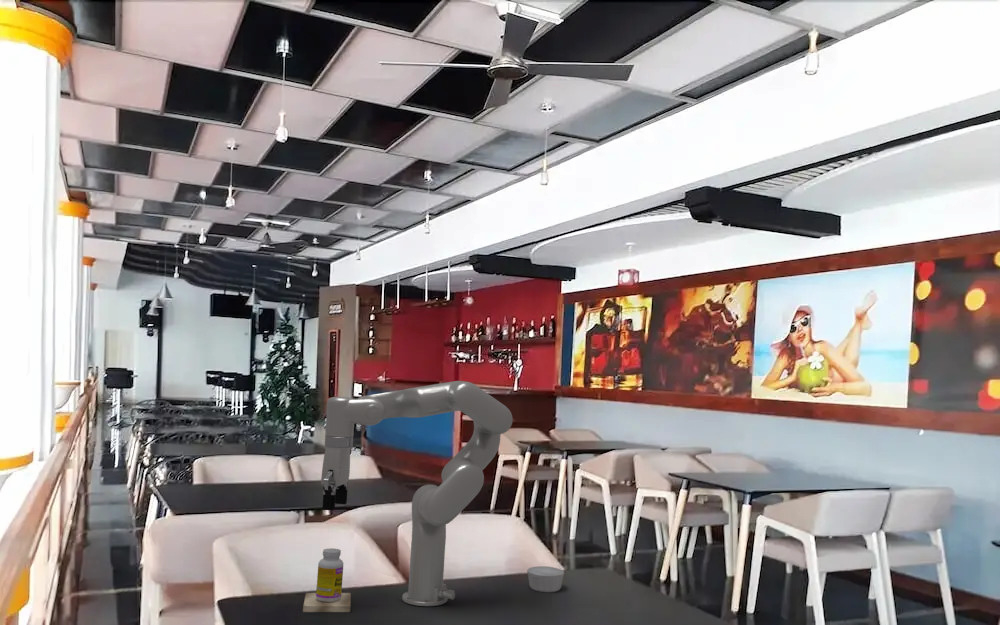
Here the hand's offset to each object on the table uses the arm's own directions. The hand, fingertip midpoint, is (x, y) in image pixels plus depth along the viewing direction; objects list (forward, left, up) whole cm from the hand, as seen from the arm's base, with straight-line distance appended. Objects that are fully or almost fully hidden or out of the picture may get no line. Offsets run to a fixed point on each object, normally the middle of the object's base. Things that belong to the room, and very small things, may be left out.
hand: (334, 506), depth 214 cm
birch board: (0, 0, -26) cm, 26 cm away
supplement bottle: (0, 0, -25) cm, 25 cm away
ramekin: (-45, -49, -26) cm, 71 cm away
